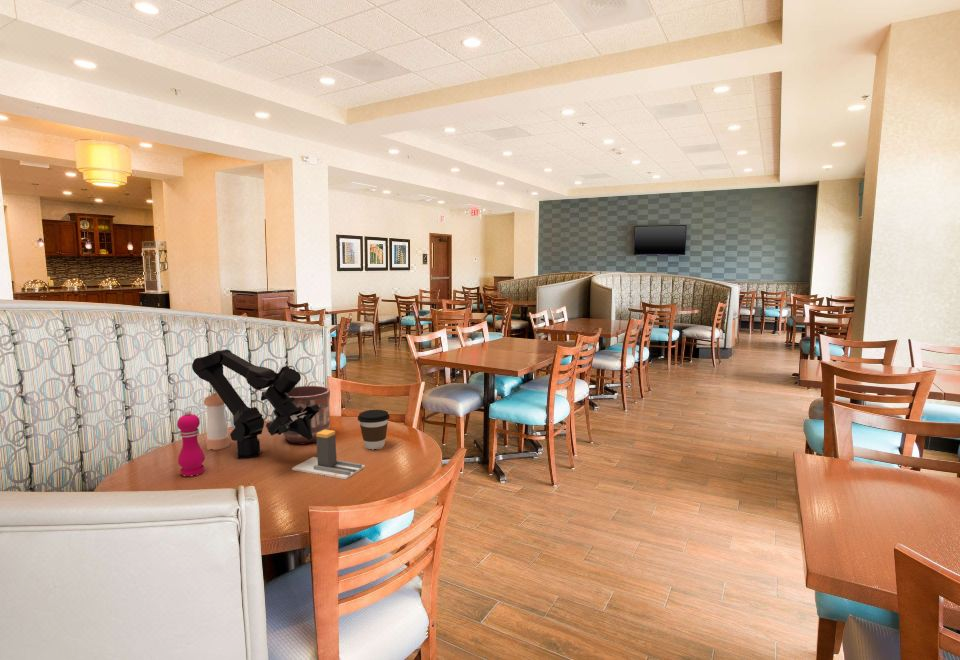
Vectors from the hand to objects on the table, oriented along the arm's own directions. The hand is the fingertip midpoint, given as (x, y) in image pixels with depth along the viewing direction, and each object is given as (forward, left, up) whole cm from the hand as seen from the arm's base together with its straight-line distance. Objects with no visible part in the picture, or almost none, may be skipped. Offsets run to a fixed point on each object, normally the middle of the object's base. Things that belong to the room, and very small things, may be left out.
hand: (311, 439), depth 165 cm
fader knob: (+4, -4, -8) cm, 10 cm away
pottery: (+2, +28, -9) cm, 29 cm away
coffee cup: (+22, +8, -9) cm, 25 cm away
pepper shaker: (-27, +34, -9) cm, 44 cm away
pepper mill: (-34, +11, -9) cm, 37 cm away
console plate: (+4, -5, -9) cm, 11 cm away
